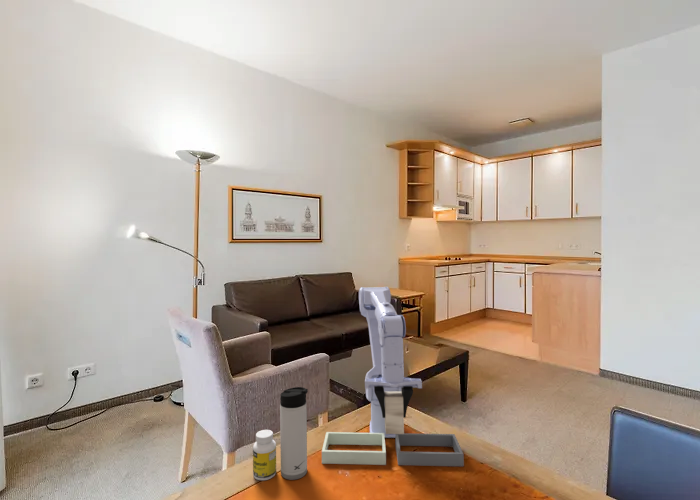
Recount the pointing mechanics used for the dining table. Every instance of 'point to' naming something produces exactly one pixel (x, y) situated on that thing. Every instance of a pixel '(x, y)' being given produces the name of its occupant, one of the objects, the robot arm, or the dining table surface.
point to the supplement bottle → (264, 455)
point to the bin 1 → (354, 456)
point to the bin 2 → (428, 457)
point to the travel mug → (293, 433)
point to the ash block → (394, 412)
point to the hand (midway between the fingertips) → (393, 416)
